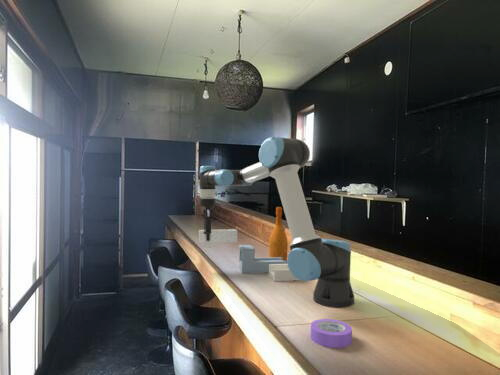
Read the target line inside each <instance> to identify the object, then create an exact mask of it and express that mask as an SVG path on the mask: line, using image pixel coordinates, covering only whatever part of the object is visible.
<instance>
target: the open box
mask: <svg viewBox="0 0 500 375" xmlns="http://www.w3.org/2000/svg"><path fill="white" fill-rule="evenodd" d="M255 251H256V250H255V247H254V246H253V245H251V244H239V245H238V269H239V271H240V272H241V274H256V273H257V274H258V273H269V264H287V261H283V260H282V257H269V256H268V257H256V256H255V255H256V252H255Z"/></svg>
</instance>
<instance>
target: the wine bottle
mask: <svg viewBox="0 0 500 375" xmlns="http://www.w3.org/2000/svg"><path fill="white" fill-rule="evenodd" d="M282 207H283V206H282ZM282 207H281V206H276V208H275V215H276V218H275V219H276V220H275V223H274V228H273V229H272V232H271V233H270V237H269V242H268V247H269V248H268V255H269V256H268V258H269V257H282V260H283V261H287V258H288V238H287V234H286V227H285V225H283V222H282V216H283V208H282Z"/></svg>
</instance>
